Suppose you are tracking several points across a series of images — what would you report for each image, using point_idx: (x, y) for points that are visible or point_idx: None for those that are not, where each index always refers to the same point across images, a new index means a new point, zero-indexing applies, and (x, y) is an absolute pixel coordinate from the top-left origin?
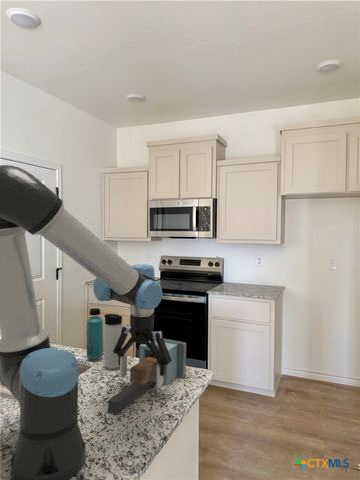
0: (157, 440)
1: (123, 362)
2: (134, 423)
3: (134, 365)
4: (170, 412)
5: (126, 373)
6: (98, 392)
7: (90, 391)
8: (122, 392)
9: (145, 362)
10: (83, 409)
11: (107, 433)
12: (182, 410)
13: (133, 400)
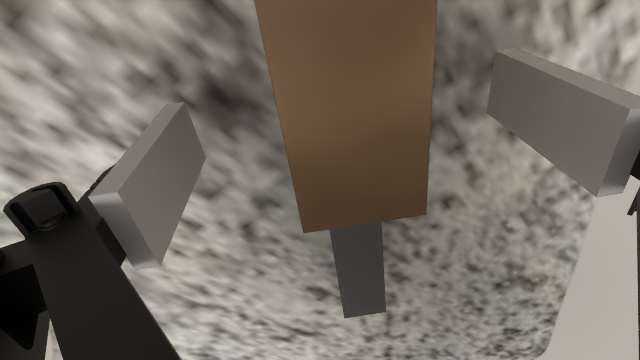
0: (565, 277)
1: (169, 209)
2: (460, 265)
3: (294, 182)
4: None
5: (184, 110)
6: None
7: None
8: (350, 259)
9: (336, 59)
10: (250, 307)
11: (413, 324)
12: None
13: None
